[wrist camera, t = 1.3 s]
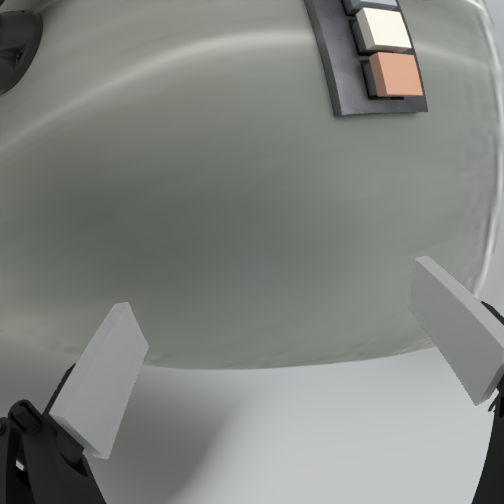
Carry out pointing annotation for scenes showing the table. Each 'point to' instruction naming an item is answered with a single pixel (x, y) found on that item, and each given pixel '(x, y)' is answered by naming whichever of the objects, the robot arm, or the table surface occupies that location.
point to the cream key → (380, 31)
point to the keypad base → (352, 63)
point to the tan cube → (392, 75)
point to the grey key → (367, 5)
